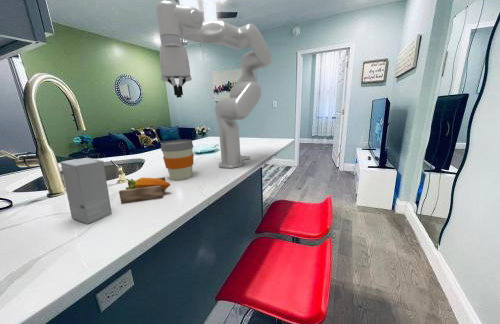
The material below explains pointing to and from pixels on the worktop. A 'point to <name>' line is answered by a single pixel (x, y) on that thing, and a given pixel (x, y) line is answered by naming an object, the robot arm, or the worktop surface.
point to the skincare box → (86, 189)
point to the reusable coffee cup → (178, 158)
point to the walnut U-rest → (141, 193)
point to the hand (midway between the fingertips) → (179, 97)
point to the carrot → (148, 183)
